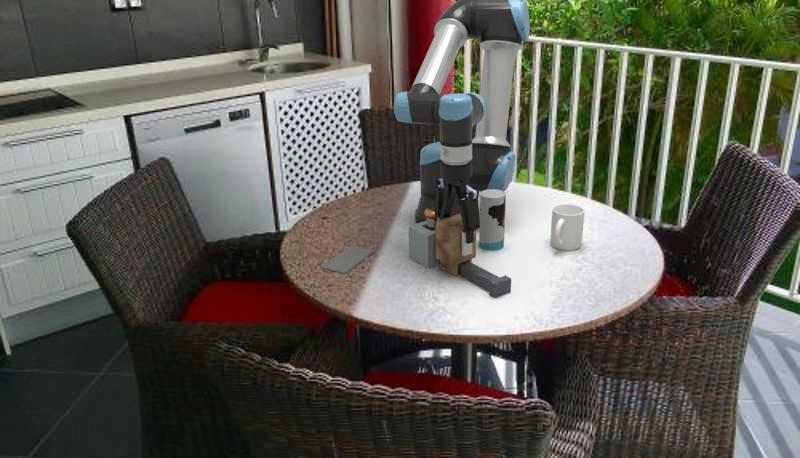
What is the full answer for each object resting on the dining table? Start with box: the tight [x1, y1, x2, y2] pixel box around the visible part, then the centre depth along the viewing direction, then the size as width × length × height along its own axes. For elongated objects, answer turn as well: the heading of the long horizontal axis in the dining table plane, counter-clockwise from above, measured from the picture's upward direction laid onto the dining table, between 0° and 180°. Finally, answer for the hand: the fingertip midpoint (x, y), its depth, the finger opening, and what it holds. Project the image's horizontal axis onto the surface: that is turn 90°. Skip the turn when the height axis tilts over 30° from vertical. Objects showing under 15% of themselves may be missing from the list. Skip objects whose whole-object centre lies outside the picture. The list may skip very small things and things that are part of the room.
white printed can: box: [478, 189, 507, 252], centre depth 182 cm, size 7×7×15 cm
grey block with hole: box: [407, 221, 439, 269], centre depth 177 cm, size 8×10×9 cm
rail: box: [438, 260, 512, 299], centre depth 167 cm, size 22×5×4 cm, turn 36°
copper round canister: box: [425, 208, 441, 231], centre depth 175 cm, size 4×4×7 cm
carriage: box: [436, 214, 477, 276], centre depth 170 cm, size 6×8×13 cm
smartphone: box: [321, 244, 375, 275], centre depth 179 cm, size 8×1×15 cm
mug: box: [550, 203, 585, 251], centre depth 181 cm, size 12×8×10 cm
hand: (457, 249), depth 170 cm, fingers open, 7 cm apart
